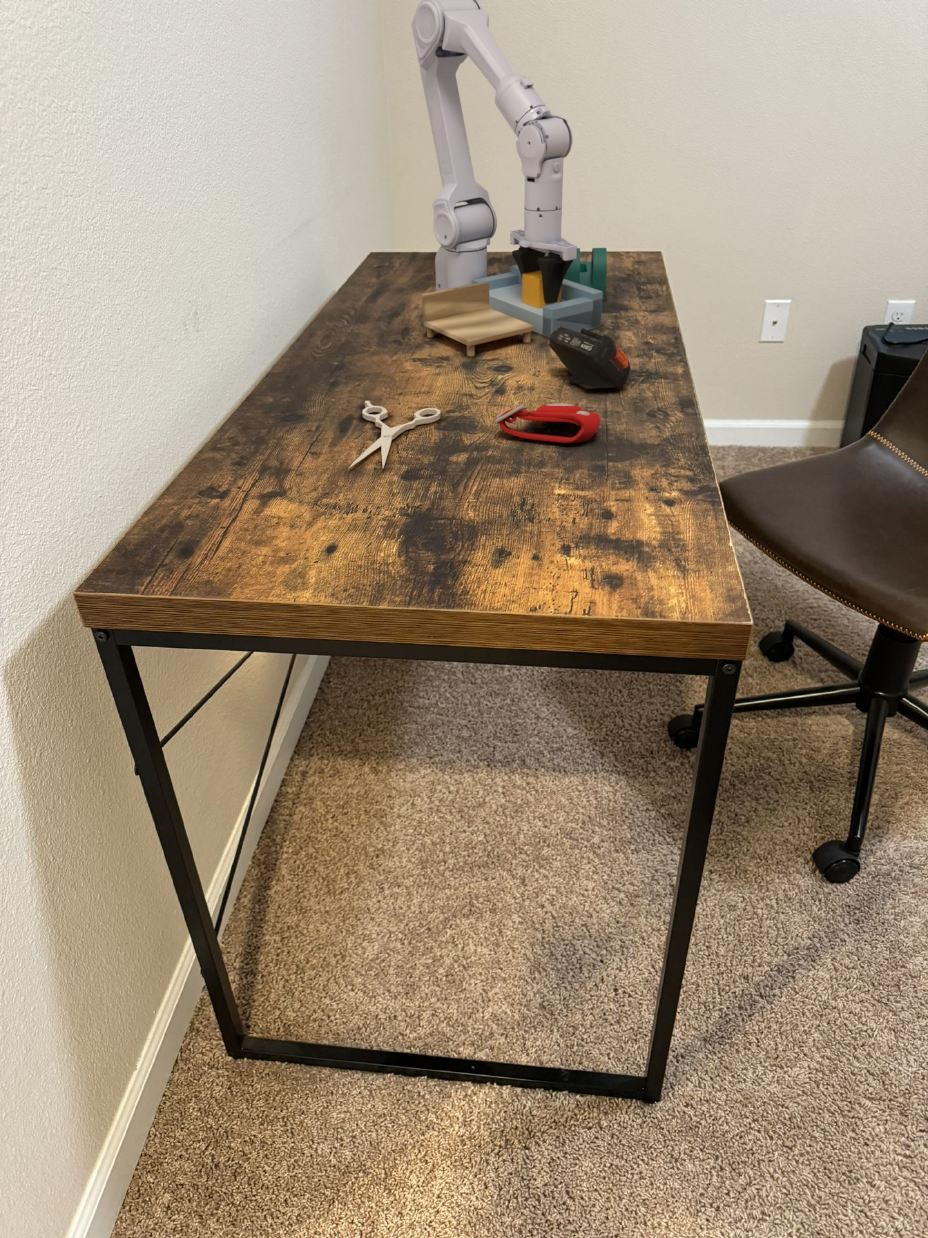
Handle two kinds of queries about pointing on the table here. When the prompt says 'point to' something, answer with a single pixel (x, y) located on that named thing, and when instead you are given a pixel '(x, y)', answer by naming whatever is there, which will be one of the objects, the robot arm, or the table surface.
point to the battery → (590, 358)
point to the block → (534, 290)
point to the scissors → (392, 433)
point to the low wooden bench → (469, 316)
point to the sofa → (572, 312)
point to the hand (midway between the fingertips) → (541, 298)
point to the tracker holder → (552, 414)
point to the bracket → (590, 270)
